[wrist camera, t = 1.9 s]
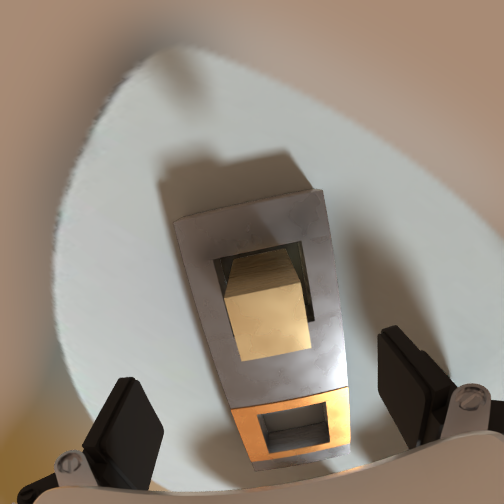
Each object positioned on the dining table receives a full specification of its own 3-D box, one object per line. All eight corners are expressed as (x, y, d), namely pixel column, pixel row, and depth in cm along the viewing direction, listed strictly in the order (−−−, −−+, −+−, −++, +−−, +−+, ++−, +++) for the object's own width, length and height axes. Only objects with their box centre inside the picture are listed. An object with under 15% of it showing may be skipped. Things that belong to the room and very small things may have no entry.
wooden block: (284, 248, 23) (300, 282, 15) (294, 296, 24) (311, 347, 16) (233, 259, 23) (224, 298, 16) (245, 306, 24) (241, 361, 17)
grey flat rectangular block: (313, 188, 22) (322, 189, 19) (344, 434, 28) (350, 453, 25) (183, 216, 23) (172, 222, 20) (255, 451, 29) (255, 471, 26)
